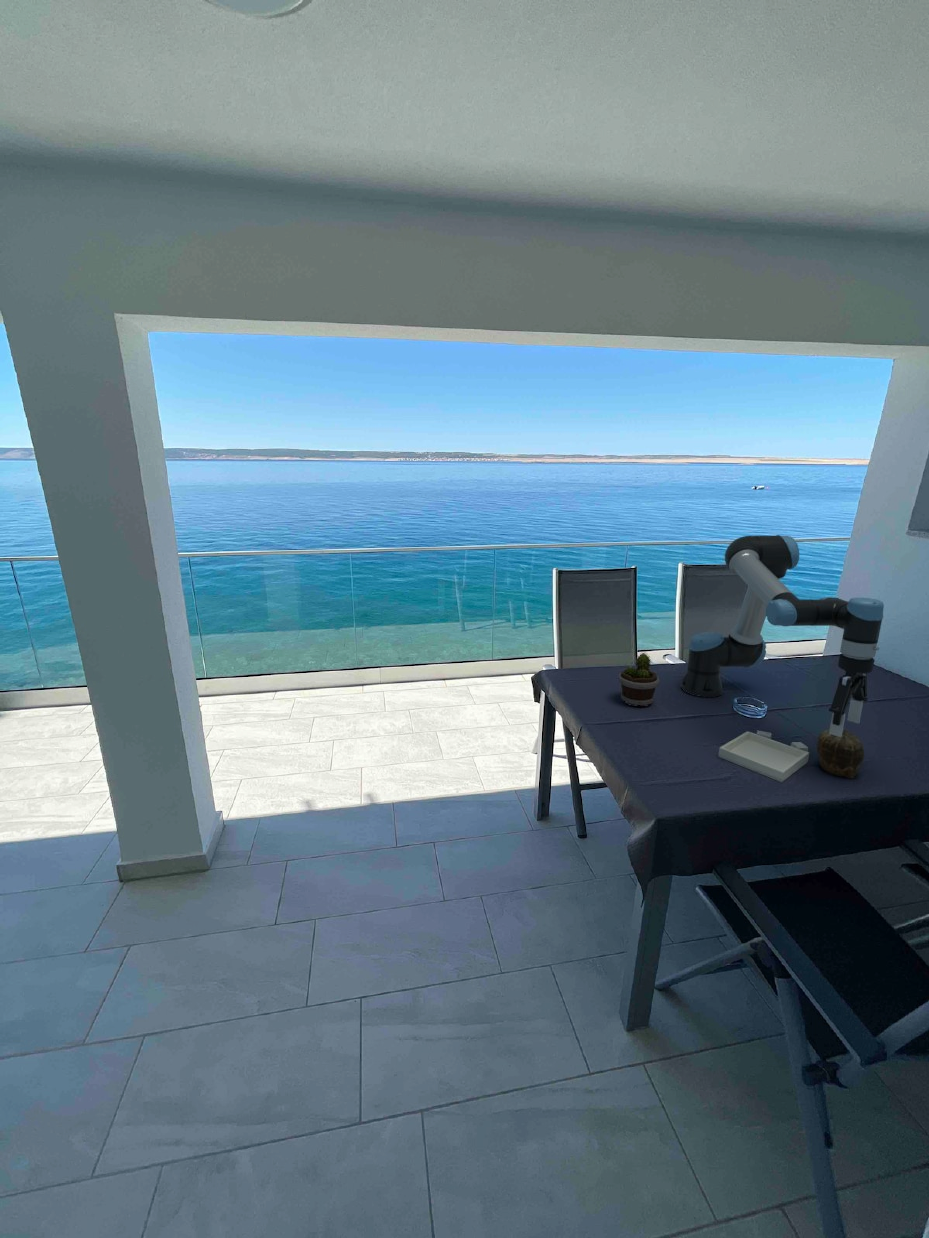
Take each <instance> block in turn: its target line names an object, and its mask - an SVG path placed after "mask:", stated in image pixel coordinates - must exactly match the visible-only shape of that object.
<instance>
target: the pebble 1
mask: <svg viewBox="0 0 929 1238" xmlns="http://www.w3.org/2000/svg"><path fill="white" fill-rule="evenodd" d="M756 734H757V735H760V736H763V737H766V738H768V739H771V740H772V733H771V732H768V731H763V730H756Z"/></svg>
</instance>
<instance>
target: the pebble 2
mask: <svg viewBox="0 0 929 1238" xmlns="http://www.w3.org/2000/svg"><path fill="white" fill-rule="evenodd" d="M790 746H791V747H794V748H797V749H800V750H803V751H806V752H809V747H808V746H807V745H805V744H804V743H802V741H798V742H795V741H794V742H793V741H792V742H791V743H790Z"/></svg>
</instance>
